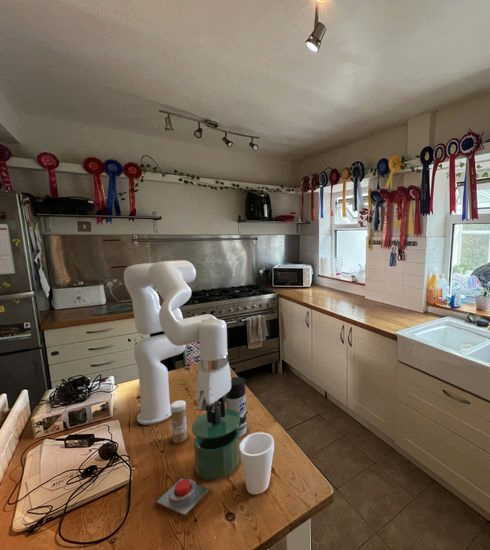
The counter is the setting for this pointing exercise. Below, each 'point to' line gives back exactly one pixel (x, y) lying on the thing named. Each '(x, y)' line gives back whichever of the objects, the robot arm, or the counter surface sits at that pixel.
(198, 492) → the grey mounting plate
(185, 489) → the button
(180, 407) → the sprinkles bottle
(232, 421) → the pot lid
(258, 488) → the foam cup
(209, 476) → the green pot
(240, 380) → the spray can
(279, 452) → the counter surface
